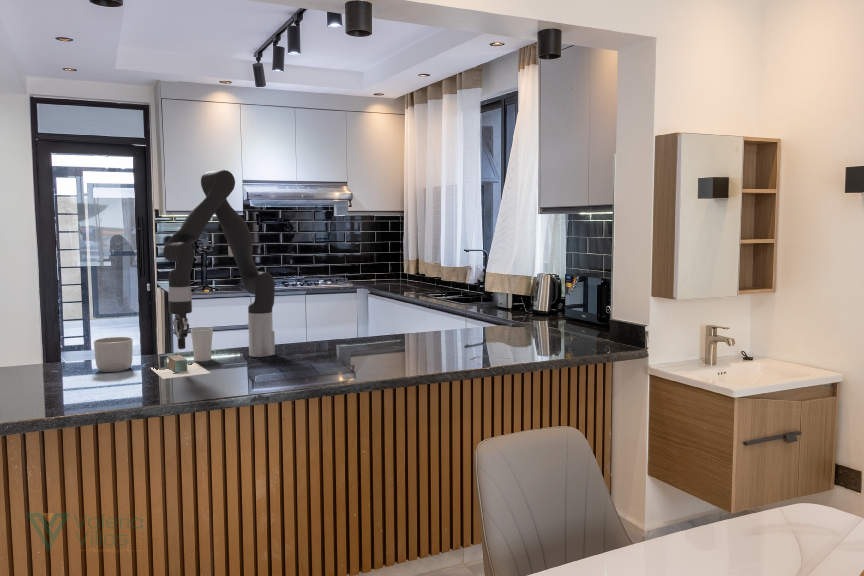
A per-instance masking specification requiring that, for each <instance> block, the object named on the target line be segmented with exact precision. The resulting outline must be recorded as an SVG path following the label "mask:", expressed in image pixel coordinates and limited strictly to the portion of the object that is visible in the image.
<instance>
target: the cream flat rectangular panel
mask: <svg viewBox="0 0 864 576" xmlns="http://www.w3.org/2000/svg"><path fill="white" fill-rule="evenodd" d="M192 363H193V364H192V365H188V364H189V363H187V371H181V372H180V373H179V372H178V373H177V374H173V373H175V372H173V371H172V370H169V369H165V370H159V369H158V370H156V369H155V368H154V369H153V367H150V368H151V369H150V370H151V371H153V373H155V374H156V375H158V376H159V378H161V379H163V380H166V379H173V378H182V377H190V376H191V377H192V376H198V375H206V374H207V375H208V374H211V372H210V371H208V370H207V369H206V368H204V367H203V366H201V365H200V364H198V363H196V362H192Z"/></svg>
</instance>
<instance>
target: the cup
mask: <svg viewBox="0 0 864 576" xmlns="http://www.w3.org/2000/svg"><path fill="white" fill-rule="evenodd" d="M213 330H214V329H213V327H205V326H204V327H193V328H190V333H191V334H190V336H191V339H192V340H191V341H192V350H193V361H195V362H208V361H211V360H212V346H213V343H212V342H213V332H214V331H213Z"/></svg>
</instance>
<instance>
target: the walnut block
mask: <svg viewBox="0 0 864 576" xmlns="http://www.w3.org/2000/svg"><path fill="white" fill-rule="evenodd" d="M167 358H168V359H167V360H168V366H169V367H170V368H171V369H172V370H174V371H175V372H181V371H187V364H188V359H186V358H185V357H183V356H182V355H181V354H176V355H168V356H167Z"/></svg>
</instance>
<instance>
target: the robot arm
mask: <svg viewBox="0 0 864 576" xmlns="http://www.w3.org/2000/svg"><path fill="white" fill-rule="evenodd" d="M200 186H201V188H202V191H203V193H204V195H205V197H204V199H203V200H202V201H201V202H200V203H199V204H198V205H197V206H195V207H194V208H193V209H192V210H191V211H190V213H189V214H188V215H187V216H186V218H185V219H184V221H183V223H182V225H181V226H180V228H179V229H178V230H177V231H176V232H175V233H174V234H173V235H172V236H171V237H170V238H169V239H168V240H167V242H166V243H165V244H164V246H163V251H162V252H163V253H162V254H163V257H164V259H165V260H167V262H170V263H171V262H172V263H176V265H175V266H176V267H175V268H174V269H171V270H169V272H168V293H167V295H168V296H167V297H168V313H169V314H171V315H174V318H173V321H172V324H173V330H174V335H175V337H176V338H177V349H179V350H184V349H186V338H188V334H189V329H190V323H189V319H188V317H187V314H191V313H192V312H193V301H192V300H193V299H192V289H191V273H192V269H193V264H194V260H195V249H194V247H193V245H192V244H193V243H195V242H197V241H199V239H200V237H201V236H202V233H203V232H204V230H205V229H206V227H207V225H208V223H209V222H210V220H211V219H212V217H213V216H214V215H215V217H216V218H217V221H218V222H219V225H220V227H221V229H222V231H223V235H224V237H225V240H226V241H227V245H228V247H229V249H230V250H231V253H232V256H233V258H234V261H235V263H236V265H237V268H238V272H239V277H240V279H241V282H242V284H243V285H242V286H243V287H244V289H245V291H246V292H247V293H248V294H251V295H254V301H253V303H250V304H249V305H248V306H247V312H248V313H247V317H248V320H247V321H248V323H247V325H248V356H250V357H253V358H262V357H263V358H264V357H270V356H275V354H276V352H275V351H276V349H275V346H276V345H275V344H276V343H275V330H274V329H273V307H274V305H275V293H276V291H275V289H276V287H275V286H276V285H275V279H274V277H273V275H272V274H271V273H269V272H268V271H267V272H266V271H259V270H258V268H257V267H256V264H255V261H254V258H253V249H254V248H253V247H254V240H253V237H252V233H251V231H250V229H249V226H248V224H247V222H246V221H245V220H244V218H243V217H242V216H241V215H240V214H239V213H238V212H237V211H236V210H235V209H234V208H233V207H232V206H231V204H230V203H229V201H228V199H227V198H228V197H229V196H230V195H231V194H232V192H233V191H234V189H235V186H236V179H235V176H234V175H233V173H232V172H231V171H229V170H226V169H217V170H209V171H206V172H204V173H202V174H201V177H200Z"/></svg>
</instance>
